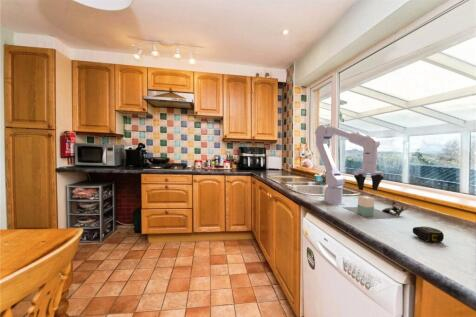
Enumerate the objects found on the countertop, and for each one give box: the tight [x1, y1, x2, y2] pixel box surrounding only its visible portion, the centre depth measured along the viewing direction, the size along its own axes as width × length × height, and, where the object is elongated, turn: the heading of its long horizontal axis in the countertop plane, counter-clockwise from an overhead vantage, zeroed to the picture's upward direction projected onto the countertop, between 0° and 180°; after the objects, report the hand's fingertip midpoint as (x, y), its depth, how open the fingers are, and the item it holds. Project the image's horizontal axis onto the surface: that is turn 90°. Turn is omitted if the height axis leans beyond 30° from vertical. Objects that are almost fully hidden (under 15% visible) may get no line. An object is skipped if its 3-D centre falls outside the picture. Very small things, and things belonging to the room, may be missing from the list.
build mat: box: [341, 206, 401, 220], centre depth 101 cm, size 18×16×1 cm
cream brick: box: [357, 195, 376, 208], centre depth 97 cm, size 4×4×4 cm
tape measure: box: [412, 226, 445, 243], centre depth 71 cm, size 7×7×4 cm
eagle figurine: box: [381, 198, 409, 217], centre depth 101 cm, size 8×8×10 cm
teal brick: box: [356, 204, 375, 217], centre depth 97 cm, size 4×4×4 cm
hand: (367, 190), depth 104 cm, fingers open, 7 cm apart
